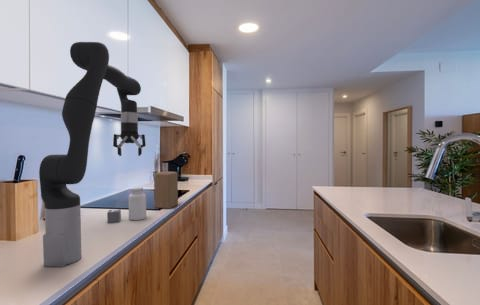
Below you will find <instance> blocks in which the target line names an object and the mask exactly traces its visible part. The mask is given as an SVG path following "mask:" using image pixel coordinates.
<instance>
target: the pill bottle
mask: <svg viewBox="0 0 480 305" xmlns="http://www.w3.org/2000/svg"><path fill="white" fill-rule="evenodd" d="M130 190H131V193H130V194H129V195H128V220H130V221H140V220H145V219H146V218H147V195H146V193H144V187H142V186H137V187H136V186H135V187H134V186H133V187H131V189H130Z"/></svg>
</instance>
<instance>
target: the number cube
mask: <svg viewBox="0 0 480 305" xmlns="http://www.w3.org/2000/svg"><path fill="white" fill-rule="evenodd" d="M106 214H107V215H106V216H107V224H114V223H120V222H121V220H122V210H121V208H120V209H109V210H107V213H106Z"/></svg>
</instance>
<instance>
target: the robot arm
mask: <svg viewBox="0 0 480 305" xmlns="http://www.w3.org/2000/svg"><path fill="white" fill-rule="evenodd" d="M69 48H70V49H69V55H70V58H71V60H72V62H73V64H74V65H75V66H77V67H78V68H79V69H82V70H84V71H86V72H85V74H84V76H82V77H81V79H80V80H79V81H78V82H77V83H75V84H74V86H72V88H70V89H69V91H68V93H67V94H66V96H65V99H64V103H63V106H62V109H61V110H62V112H61V117H62V121H63V123H64V125H65V128H66V130H67V132H68V135H69V145H68V149H67V150H68V151H67V153H66V154H49V155H48V154H47V155H46V156H45V157H44V158H43V159H42V161H41V162H40V164H39V170H38V171H39V172H38V174H39V175H38V177H39V178H38V179H39V184H40V185H39V186H40V196H41V199H42V201H43V203H44V225H45V226H44V231H45V233H44V234H43V235H42V243H43V245H42V249H43V252H42V253H43V267H58V268H61V267H65V266H67V265H70V264H73V263H75V262H77V261H79V260H80V259H81V258H82V226H81V225H82V222H81V218H82V217H81V215H82V214H81V196H80V195H79V194H77V193H74V191H71V190H70V189H69V188H68V187H67V185H78V184H80V182H82V180H83V179H84V177H85V174H86V172H87V171H86V170H87V165H88V157H89V156H88V155H89V146H90V139H91V133H92V129H93V123H94V119H95V115H96V112H97V111H96V110H97V107H98V101H99V96H100V92H101V88H102V84H103V80H104V81H107V83H109V84H110V85H112V86H113V87H115V88H116V92H117V94H118V97H119V101H120V112H121V113H120V134H116V133H114V134H113V140H112V141H113V144H112V147H114V148H116V149H117V156H119V157H121V156H122V147H123V145H125V144H135V145H136V146H137V147H138V149H137V153H138V154H137V155H138V157H141V155H142V151H143V149H142V148H144V147H146V145H147V144H146V135H145V134H144V133H143V134H139V119H138V103H137V101H135V100H133V99H129V98H128V96H138V95H139V94H140V93H141V92H142V86H141V84H140V83H139V81H138V80H137V79H135V78H133V77H131V76H128V75H126V73H124V72H123V71H121V70H120V69H119V68H117V67H115V66H113V65H110V64H109V62H110V53H109V52H110V51H109V49H108V47H107V46H106V44H105V43H102V42H99V41H77V42H73V43H72V45H70V47H69ZM139 138H140V139H141V143H142V144H140V142H139V141H138V139H139ZM118 139H121V141H120V142H119V143H118Z"/></svg>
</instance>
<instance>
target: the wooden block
mask: <svg viewBox="0 0 480 305" xmlns="http://www.w3.org/2000/svg"><path fill="white" fill-rule="evenodd" d="M153 176H154V177H153V183H154V184H153V185H154V188H153V191H154V207H155V208H156V209H165V210H166V209H167V210H168V209H171V208H174V207H176V206H178V204H179V196H178V195H179V194H178V192H179V190H178V188H179V187H178V186H179V185H178V183H179V182H178V180H179V179H178V176H179V175H178V172H177V171H159V172H155V173H154V174H153Z"/></svg>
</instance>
